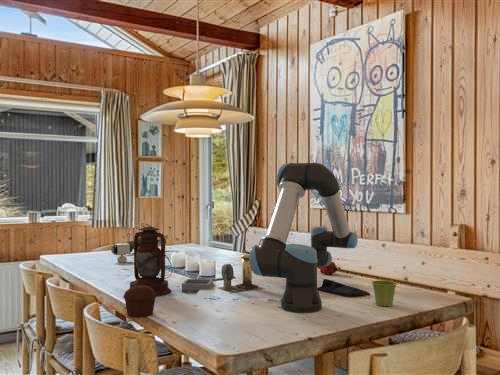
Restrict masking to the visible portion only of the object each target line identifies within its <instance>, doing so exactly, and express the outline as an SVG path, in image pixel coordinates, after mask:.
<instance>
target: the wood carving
mask: <svg viewBox="0 0 500 375" xmlns="http://www.w3.org/2000/svg"><path fill="white" fill-rule="evenodd" d="M164 237H165V239H166V241H167V240H168V238H169V235H168V234H165V235H164ZM138 240H141V237H138ZM158 240H160V241H158V246H161V239H160V238H159V239H158ZM124 243H129V244H130V245H132V248H133V250H134V240H131V241H126V242H123V244H124ZM138 243H139V244H140V242H139V241H138ZM139 244H138V249H139V248H140V245H139Z"/></svg>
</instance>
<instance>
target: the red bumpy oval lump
mask: <svg viewBox="0 0 500 375" xmlns="http://www.w3.org/2000/svg"><path fill="white" fill-rule="evenodd" d="M317 270H319V271H320V273H321V274H324V275H327V276H332V274H336V272H337V271H338V266H337V265H336V263H335V262H334V261H332V262H331V264H330V265H328V266H324V267H317Z"/></svg>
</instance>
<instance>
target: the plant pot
mask: <svg viewBox="0 0 500 375" xmlns="http://www.w3.org/2000/svg"><path fill="white" fill-rule="evenodd" d="M371 284H372V287H373V290H374V299H375V300H374V302H375V305H377V306H378V305H380V306H379V307H383V306H384V307H389V306H390V307H392V306H393V304H394V303H393V302H394V297H395V289H396V288H397V285H398V282H395V281H391V280H383V279H382V280H379V279H378V280H372V281H371Z"/></svg>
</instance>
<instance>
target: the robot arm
mask: <svg viewBox="0 0 500 375" xmlns="http://www.w3.org/2000/svg"><path fill="white" fill-rule="evenodd" d="M275 180H276V181H275V182H276V185H277V187H278V190H279V195H278V198H277V201H276V204H275V206H274V207H275V208H274V210H273V212H272V216H271V219H270V222H269V225H268V228H267V231H266V234H265V236H263V237H261V238H260V240H259V243H258V244H254V245H253V246H252V247H251V248H250V250H249V252H248V253H249V254H248V255H249V263H250V267H251V270H252V273H253V274H254V275H256V276H259V277H260V276H262V277H264V278H265V277H266V278H267V277H269V278H278V279H279V278H280V279H285V289H284V291H283V292H284V293H283V296H282V299H281V308H282V310H284V311H288V312H292V313H293V312H294V313H315V312H319V311H321V310H322V309H323V308H322V307H323V304H322V303H323V302H322V299H321V296H320V293H319V290H318V289H317V288H318V267H324V266H328V265H330V264H331V262H333V256H332V253H331V252H330V251H328V248H335V249H337V248H338V249H355V248H357V245H358V234H357V233H356V232H353V231H351V229H350V227H349V223H348V220H347V216H346V212H345V209H344V206H343V201H342V199H341V195H340V190H341V186H340V183H339V181H338V178H337V177H336V175H335V174H334V173H333V172H332V170H331V169H329V168H328V167H327V166H326V165H324V164H323V163H320V162H289V163H284V164H282V165H281V166H280V167H279V168H278V171H277V172H276V179H275ZM313 190H314V191H316V192H317V194H318V196H320V197H321V198H322V201H323V206H324V208H325V211H326V214H327V217H328V220H329V222H330V223H329V224H330V225H331V229H332V230H328V228H327V227H326V226H313V227H311V228H310V229H311V232H310V245H306V244H300V243H289V244H287V241H288V238H289V236H290V231H291V227H292V226H293V222H294V218H295V215H296V211H297V208H298V206H299V202H300V199H301V198H303V197H304V196H305V194H306V191H313Z"/></svg>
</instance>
